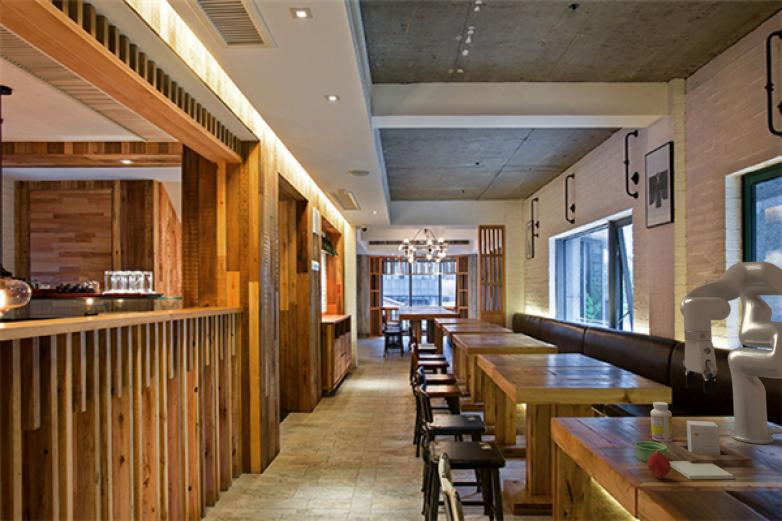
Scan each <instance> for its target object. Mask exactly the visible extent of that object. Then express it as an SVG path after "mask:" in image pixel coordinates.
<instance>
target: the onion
mask: <svg viewBox="0 0 782 521" xmlns="http://www.w3.org/2000/svg"><path fill="white" fill-rule="evenodd" d="M669 461H670V460H669V459H668V458H667V455H666V456H665V455H663V454H662V453H661V452H660V450H657V451H656V452H655V453H653V454H652V455H651V456H650V457H649V459H648V461H647V462H646V465H647V467H648V470H649V471H650V472H651V474H653V475H654V476H655V477H656V478H658V479H663V478H664V477H665V476H666V475H668V474H669V473H670V471H671V469H672V467H671V465H670V462H669Z"/></svg>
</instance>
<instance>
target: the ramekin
mask: <svg viewBox="0 0 782 521" xmlns="http://www.w3.org/2000/svg"><path fill="white" fill-rule="evenodd" d="M634 446H635V452H636V458H637V459H638V460H639V461H642V462H645V463H647V461H648V459H649V457H650V456H651V455H652V454H653V453H655V452H656V451H657V450H660V452H661V453H662V454H663V455H665V456H666V457H667V452H666V450H667V447H666V446H665V445H663V444H661V442H657V441H648V440H647V441H645V440H643V441H642V440H640V441H637V442H634Z"/></svg>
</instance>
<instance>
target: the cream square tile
mask: <svg viewBox="0 0 782 521" xmlns="http://www.w3.org/2000/svg"><path fill="white" fill-rule="evenodd" d="M669 462H670V465H671V469H673V470H676V472H678V473H679V474H681V475H683V476H684V477H685V478H688V479H689V480H731V479H732V480H733V479H734V475H733V474H731V473H730V472H728V471H726V470H724V469H722V468H721V467H720V466H716V465H714V464H712V463H690V462H688V461H681V460H677V461H676V460H672V461H671V460H669Z"/></svg>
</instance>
